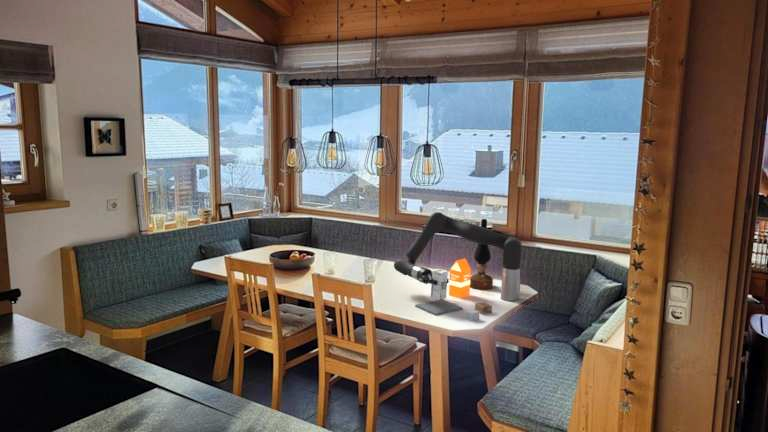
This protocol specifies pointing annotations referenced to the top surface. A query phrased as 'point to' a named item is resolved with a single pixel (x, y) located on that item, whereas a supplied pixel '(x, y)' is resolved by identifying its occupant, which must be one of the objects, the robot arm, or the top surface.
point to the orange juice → (460, 279)
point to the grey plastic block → (471, 315)
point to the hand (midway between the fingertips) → (442, 282)
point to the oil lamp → (482, 266)
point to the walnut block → (483, 308)
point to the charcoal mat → (438, 307)
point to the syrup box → (439, 284)
